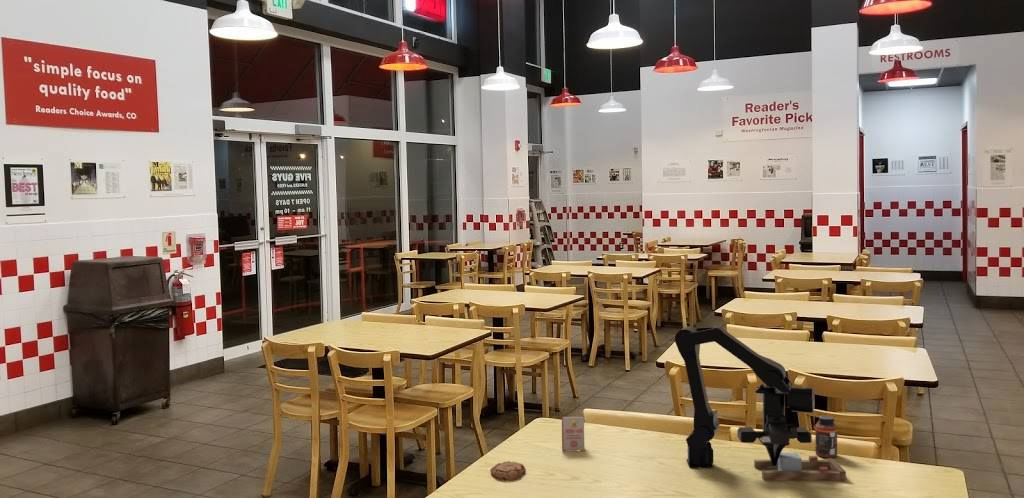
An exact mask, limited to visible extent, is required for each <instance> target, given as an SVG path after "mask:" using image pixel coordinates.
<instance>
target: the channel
mask: <svg viewBox="0 0 1024 498" xmlns="http://www.w3.org/2000/svg"><path fill="white" fill-rule="evenodd" d="M753 467H754V469H777V470H762V471H761V479H762V481H812V482H813V481H815V482H817V481H818V482H819V481H821V482H822V481H825V482H826V481H828V482H829V481H832V482H833V481H836V482H837V481H838V482H845V481H847V471H846V470H845V469H844V468H843V467H842V466H841V465H840V464H839V463H838V462H837V461H836V459H834V457H833V458H826V459H818V455H808V459H802V461H801V471H778V461H777V464H776V466H773V465H772V463H771V460H770V459H753ZM803 469H805V470H803ZM807 469H808V470H807ZM810 469H813V470H810ZM815 469H816V471H814V470H815ZM817 469H818V470H817ZM806 470H807V471H806Z"/></svg>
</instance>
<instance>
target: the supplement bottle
mask: <svg viewBox="0 0 1024 498" xmlns="http://www.w3.org/2000/svg"><path fill="white" fill-rule="evenodd" d="M834 419H835V418H834V417H833V416H830V415H820V416H818V422H817V423H816V424H815V432H814V433H815V437H814V438H815V450H814V451H815V454H816V456H817V457H818V456H819V457H821V458H825V459H827V458H833V459H834V458H836V457H837V455H838V426H837V425H836V424H835V420H834Z"/></svg>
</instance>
